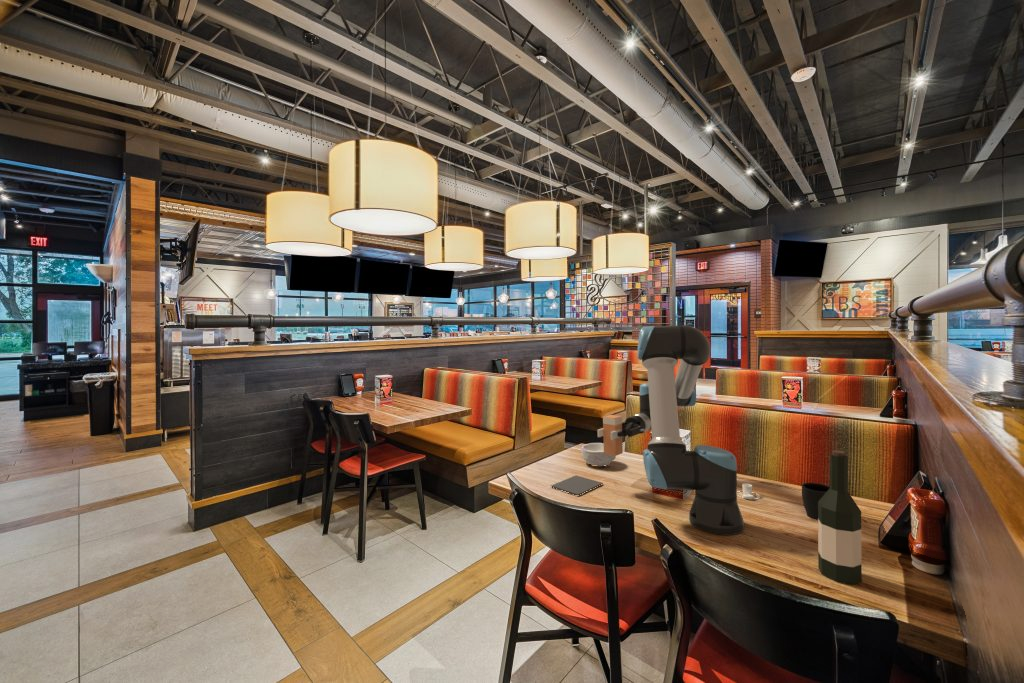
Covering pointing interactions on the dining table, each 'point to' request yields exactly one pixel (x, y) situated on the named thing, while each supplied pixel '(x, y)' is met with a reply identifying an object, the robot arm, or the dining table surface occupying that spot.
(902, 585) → the dining table surface
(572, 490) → the mat
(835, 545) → the wine bottle
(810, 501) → the mug
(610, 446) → the orange wooden block
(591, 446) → the grey bowl
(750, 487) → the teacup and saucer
